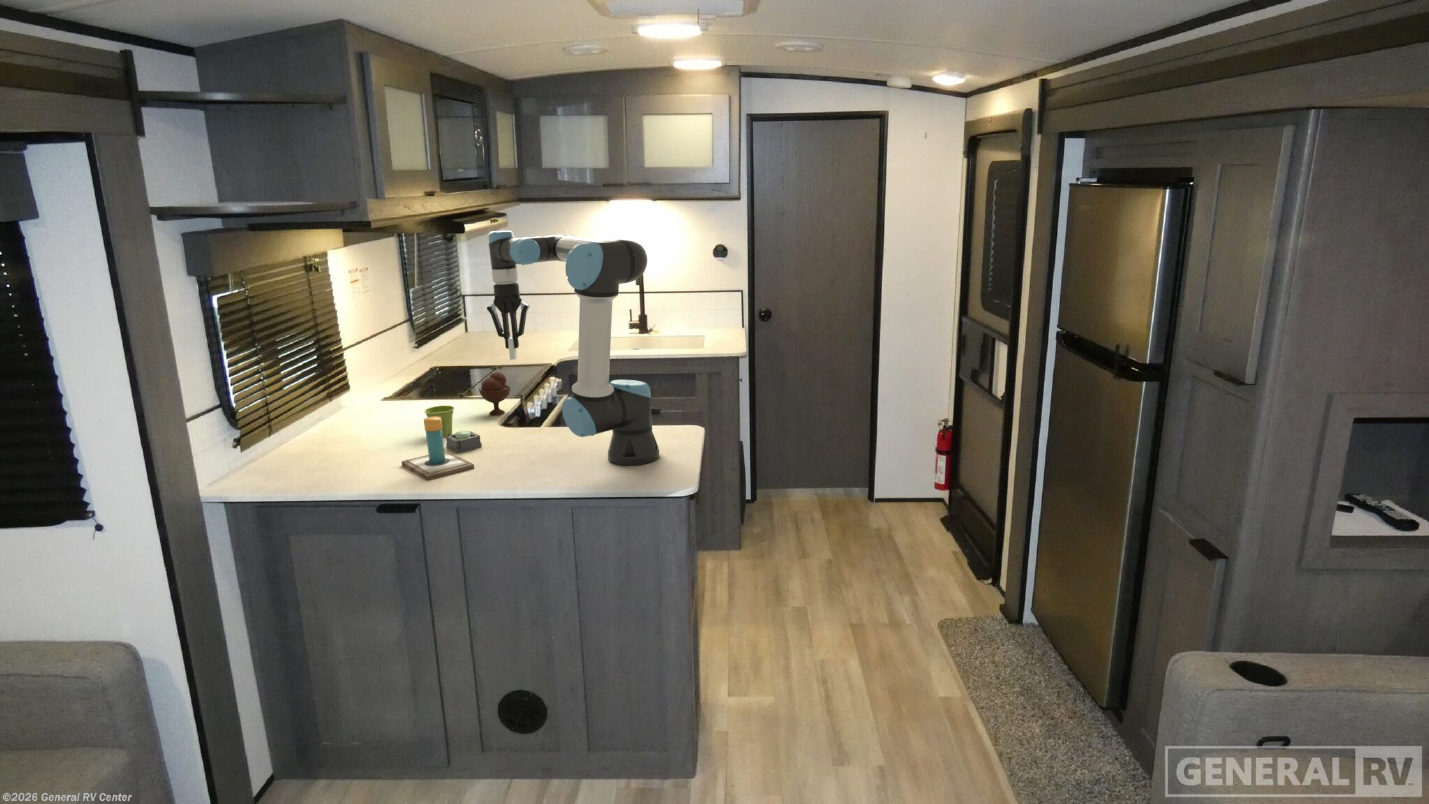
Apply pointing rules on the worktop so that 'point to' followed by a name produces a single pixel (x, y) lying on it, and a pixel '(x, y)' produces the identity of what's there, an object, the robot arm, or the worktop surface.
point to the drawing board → (437, 466)
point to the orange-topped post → (434, 440)
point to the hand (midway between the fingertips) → (513, 358)
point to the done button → (462, 434)
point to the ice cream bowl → (495, 391)
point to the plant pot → (442, 417)
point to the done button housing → (463, 442)
